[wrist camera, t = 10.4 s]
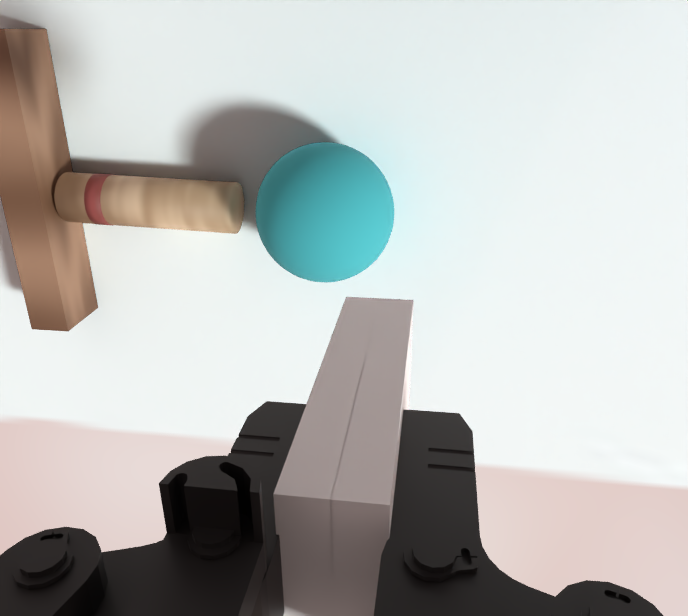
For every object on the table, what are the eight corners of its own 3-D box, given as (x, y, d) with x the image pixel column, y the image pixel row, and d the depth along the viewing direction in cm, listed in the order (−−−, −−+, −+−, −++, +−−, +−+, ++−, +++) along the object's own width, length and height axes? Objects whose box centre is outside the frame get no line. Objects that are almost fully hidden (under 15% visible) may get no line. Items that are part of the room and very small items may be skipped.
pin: (236, 171, 29) (65, 161, 30) (225, 214, 28) (48, 202, 29) (247, 202, 31) (87, 192, 32) (237, 243, 30) (72, 231, 31)
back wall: (6, 29, 29) (-40, 29, 26) (46, 29, 29) (4, 28, 26) (64, 305, 34) (31, 329, 32) (97, 307, 34) (68, 331, 31)
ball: (304, 120, 29) (217, 153, 25) (420, 136, 26) (345, 177, 22) (311, 238, 32) (234, 286, 28) (415, 263, 29) (348, 321, 25)
